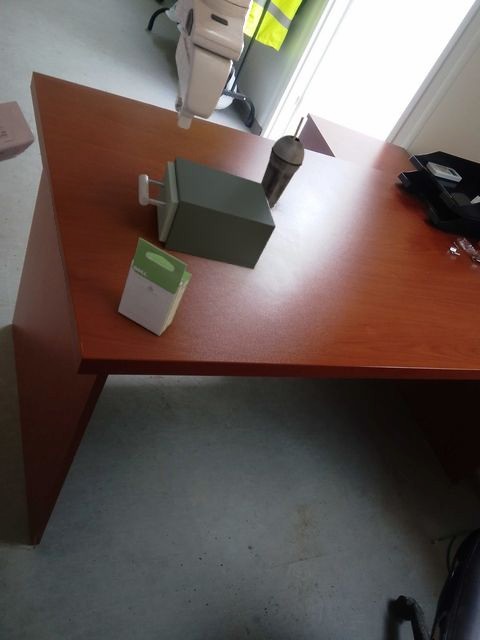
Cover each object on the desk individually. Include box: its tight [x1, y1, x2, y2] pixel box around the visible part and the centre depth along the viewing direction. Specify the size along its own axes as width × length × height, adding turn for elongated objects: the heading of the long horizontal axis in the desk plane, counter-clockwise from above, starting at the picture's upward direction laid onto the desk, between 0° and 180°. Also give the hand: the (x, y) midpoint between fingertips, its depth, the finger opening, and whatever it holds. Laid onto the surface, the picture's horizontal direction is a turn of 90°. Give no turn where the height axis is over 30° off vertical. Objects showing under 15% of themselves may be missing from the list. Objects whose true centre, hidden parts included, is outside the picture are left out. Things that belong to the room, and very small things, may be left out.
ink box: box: [117, 237, 192, 337], centre depth 61 cm, size 7×4×13 cm, turn 71°
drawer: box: [138, 160, 179, 243], centre depth 81 cm, size 20×13×8 cm, turn 103°
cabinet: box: [163, 156, 276, 270], centre depth 82 cm, size 17×14×10 cm
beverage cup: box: [260, 116, 306, 209], centre depth 97 cm, size 7×7×20 cm
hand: (181, 118), depth 69 cm, fingers open, 4 cm apart
